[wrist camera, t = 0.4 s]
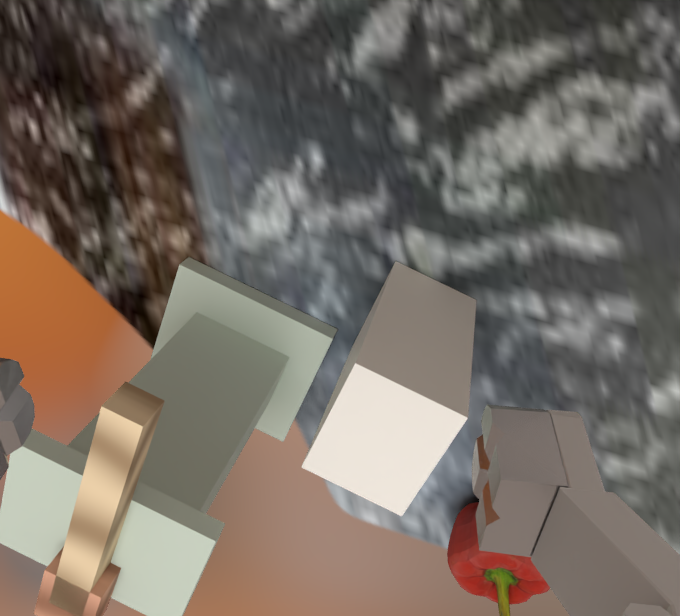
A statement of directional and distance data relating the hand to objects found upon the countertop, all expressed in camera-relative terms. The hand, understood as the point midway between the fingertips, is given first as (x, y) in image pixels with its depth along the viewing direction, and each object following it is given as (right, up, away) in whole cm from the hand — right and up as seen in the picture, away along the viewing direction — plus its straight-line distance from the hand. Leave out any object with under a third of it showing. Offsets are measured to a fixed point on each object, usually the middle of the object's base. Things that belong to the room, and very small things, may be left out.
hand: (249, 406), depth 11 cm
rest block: (+8, 0, +47) cm, 48 cm away
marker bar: (-13, -11, +28) cm, 33 cm away
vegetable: (+19, -20, +55) cm, 61 cm away
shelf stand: (-8, -2, +53) cm, 54 cm away
